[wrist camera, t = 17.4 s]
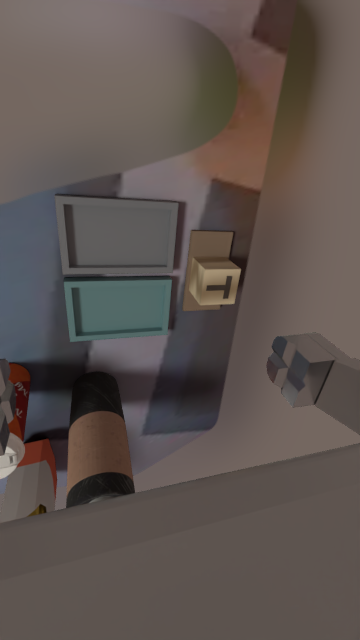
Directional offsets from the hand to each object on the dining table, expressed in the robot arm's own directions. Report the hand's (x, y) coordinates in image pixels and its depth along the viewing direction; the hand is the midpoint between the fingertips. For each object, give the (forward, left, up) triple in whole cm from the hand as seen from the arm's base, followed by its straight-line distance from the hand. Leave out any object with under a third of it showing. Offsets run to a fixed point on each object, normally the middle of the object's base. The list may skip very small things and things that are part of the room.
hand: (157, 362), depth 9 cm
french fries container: (+42, -12, -31) cm, 54 cm away
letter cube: (+9, +14, -30) cm, 35 cm away
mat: (+9, +14, -31) cm, 35 cm away
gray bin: (+4, +2, -31) cm, 31 cm away
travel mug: (+29, -2, -31) cm, 43 cm away
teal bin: (+14, +2, -31) cm, 34 cm away
